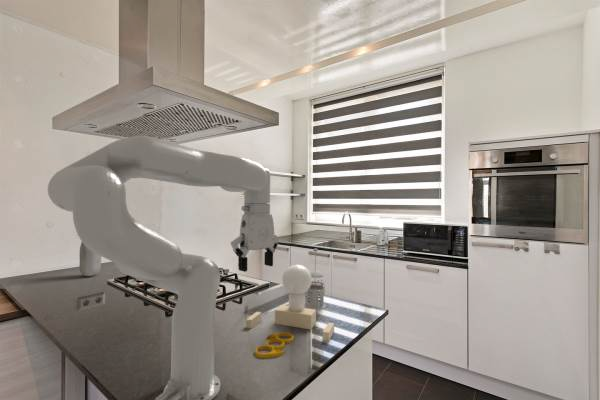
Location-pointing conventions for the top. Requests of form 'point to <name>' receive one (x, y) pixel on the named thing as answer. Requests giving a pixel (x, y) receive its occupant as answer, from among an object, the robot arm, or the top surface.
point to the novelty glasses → (274, 349)
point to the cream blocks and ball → (295, 303)
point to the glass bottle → (89, 261)
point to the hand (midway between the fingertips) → (256, 268)
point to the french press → (315, 291)
